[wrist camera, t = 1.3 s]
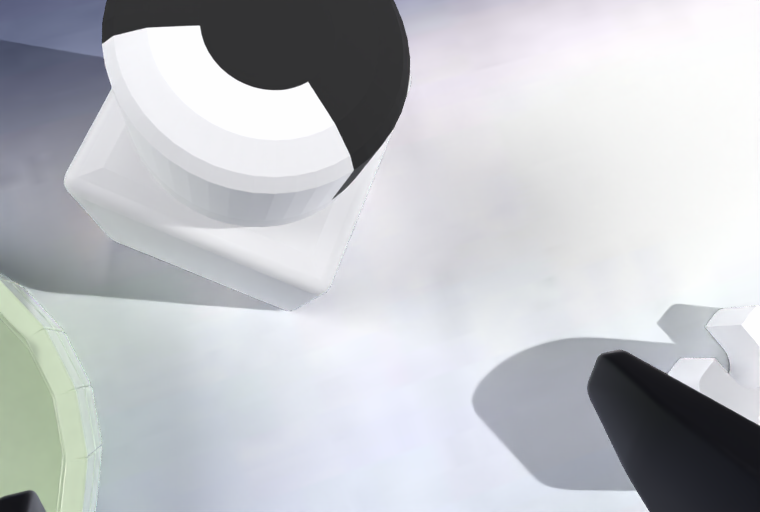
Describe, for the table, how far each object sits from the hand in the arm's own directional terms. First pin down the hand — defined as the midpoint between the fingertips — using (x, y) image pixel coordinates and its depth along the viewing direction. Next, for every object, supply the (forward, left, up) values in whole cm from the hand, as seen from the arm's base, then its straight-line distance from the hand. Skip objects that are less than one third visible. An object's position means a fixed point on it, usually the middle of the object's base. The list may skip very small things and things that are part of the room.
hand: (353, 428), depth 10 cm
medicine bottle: (+7, -2, -13) cm, 15 cm away
